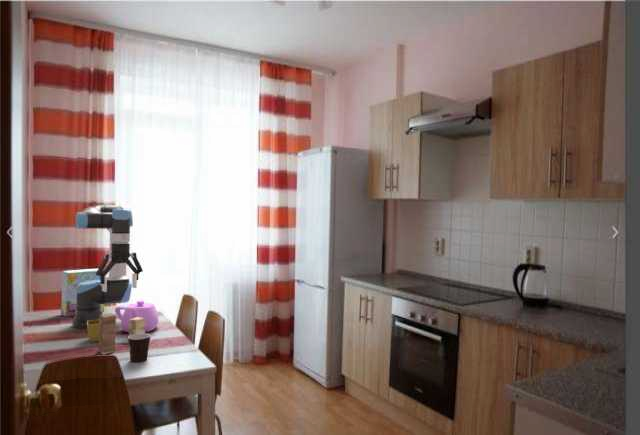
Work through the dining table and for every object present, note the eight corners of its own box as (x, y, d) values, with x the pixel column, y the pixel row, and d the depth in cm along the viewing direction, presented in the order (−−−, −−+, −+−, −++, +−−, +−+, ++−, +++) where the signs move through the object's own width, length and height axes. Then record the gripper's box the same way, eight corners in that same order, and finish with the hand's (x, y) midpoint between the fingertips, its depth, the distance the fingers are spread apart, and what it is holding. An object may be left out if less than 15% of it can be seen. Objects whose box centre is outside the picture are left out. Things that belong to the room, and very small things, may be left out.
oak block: (128, 339, 204) (129, 319, 204) (137, 337, 208) (137, 317, 208) (136, 341, 202) (136, 320, 201) (144, 338, 206) (145, 318, 206)
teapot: (119, 326, 227) (120, 298, 227) (160, 325, 230) (161, 297, 230) (105, 338, 205) (105, 307, 204) (150, 337, 208) (151, 307, 208)
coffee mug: (131, 356, 181) (132, 333, 181) (152, 356, 182) (153, 333, 182) (121, 366, 170) (121, 341, 170) (143, 366, 170) (144, 341, 170)
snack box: (66, 317, 240) (67, 272, 240) (60, 315, 246) (61, 270, 246) (105, 311, 257) (106, 269, 257) (98, 309, 263) (99, 267, 262)
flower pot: (86, 344, 196) (86, 324, 196) (87, 338, 204) (87, 320, 204) (107, 341, 200) (108, 322, 200) (107, 336, 208) (107, 318, 208)
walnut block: (98, 351, 187) (99, 315, 186) (110, 348, 190) (111, 313, 190) (103, 354, 183) (104, 317, 183) (115, 351, 187) (115, 315, 187)
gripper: (95, 244, 180) (94, 294, 180) (150, 242, 199) (149, 287, 200) (88, 243, 185) (87, 291, 185) (142, 241, 204) (141, 285, 204)
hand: (119, 289), depth 192 cm, fingers open, 13 cm apart
